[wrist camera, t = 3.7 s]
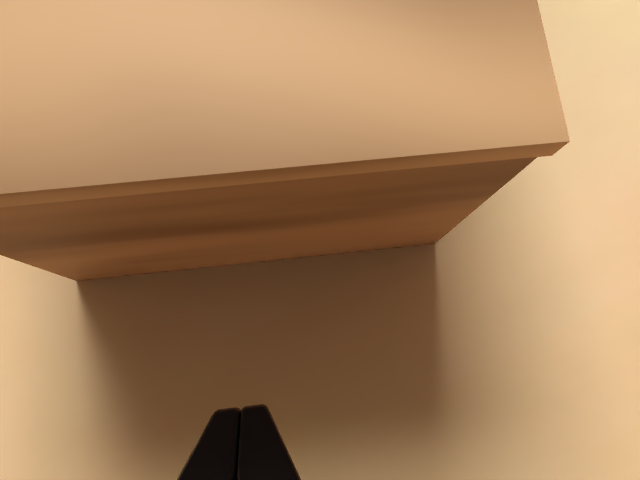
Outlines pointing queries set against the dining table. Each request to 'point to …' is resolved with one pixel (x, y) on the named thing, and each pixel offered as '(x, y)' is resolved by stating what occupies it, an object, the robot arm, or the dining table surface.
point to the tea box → (259, 126)
